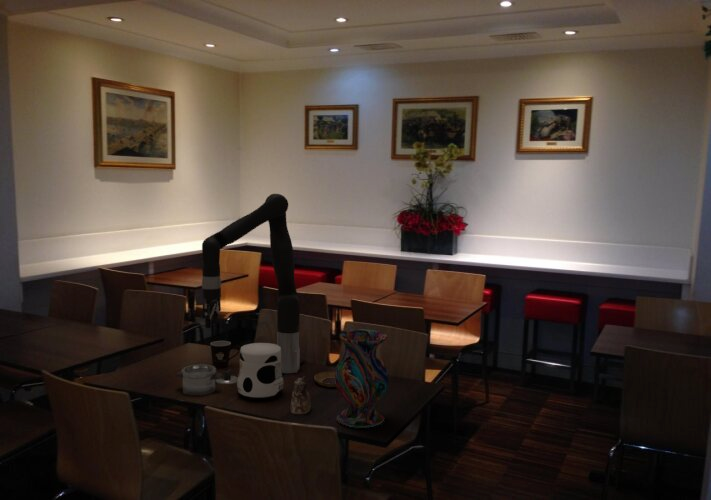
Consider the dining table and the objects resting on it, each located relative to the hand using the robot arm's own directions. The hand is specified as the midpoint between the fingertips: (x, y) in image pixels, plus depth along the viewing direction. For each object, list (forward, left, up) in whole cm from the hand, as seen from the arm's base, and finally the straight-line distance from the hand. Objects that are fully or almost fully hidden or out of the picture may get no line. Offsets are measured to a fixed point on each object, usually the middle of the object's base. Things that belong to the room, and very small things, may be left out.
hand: (212, 325), depth 254 cm
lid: (-9, +7, -21) cm, 24 cm away
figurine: (-44, +33, -21) cm, 58 cm away
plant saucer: (-51, +2, -21) cm, 55 cm away
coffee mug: (-2, -10, -21) cm, 23 cm away
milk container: (-26, +20, -21) cm, 38 cm away
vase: (-66, +38, -21) cm, 79 cm away
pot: (-2, +20, -20) cm, 28 cm away
